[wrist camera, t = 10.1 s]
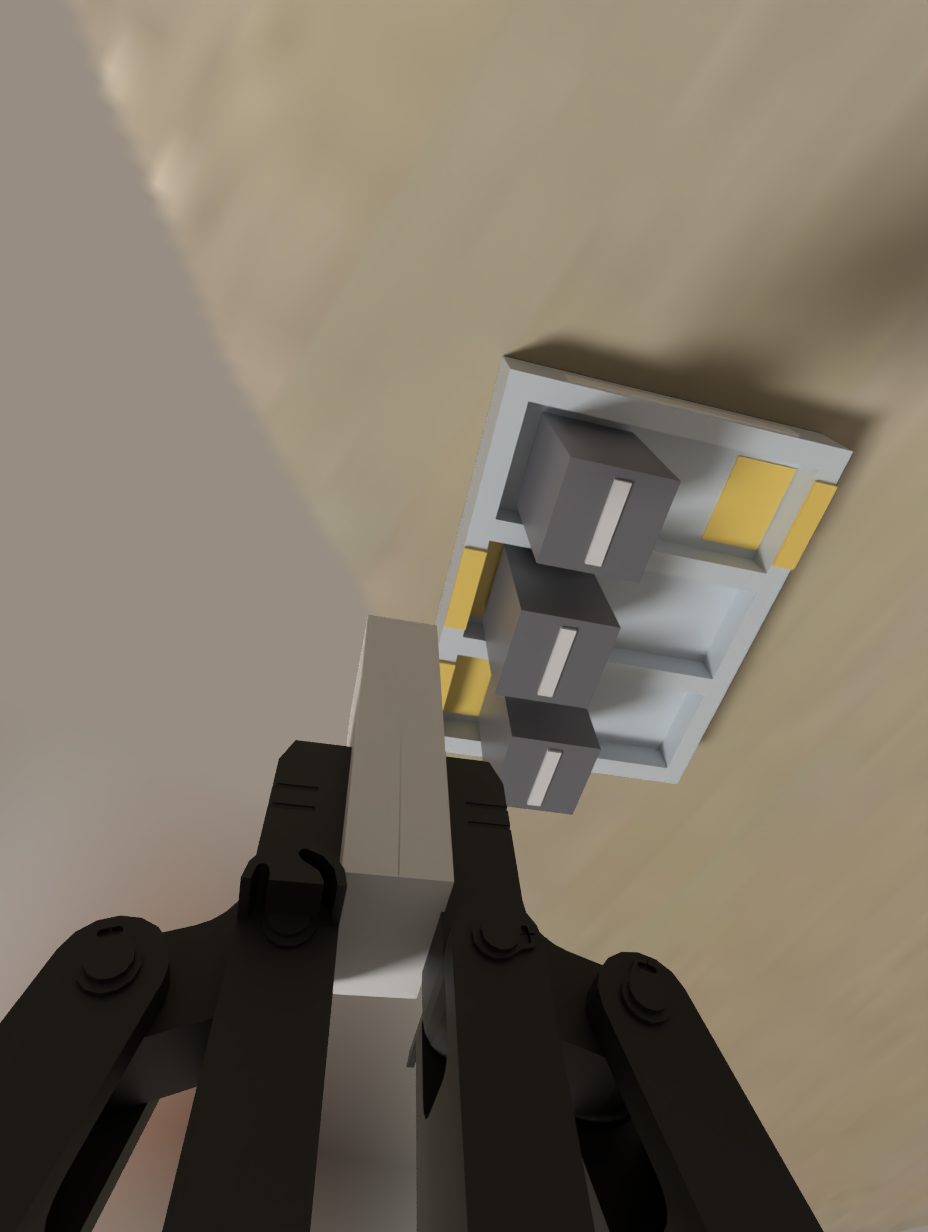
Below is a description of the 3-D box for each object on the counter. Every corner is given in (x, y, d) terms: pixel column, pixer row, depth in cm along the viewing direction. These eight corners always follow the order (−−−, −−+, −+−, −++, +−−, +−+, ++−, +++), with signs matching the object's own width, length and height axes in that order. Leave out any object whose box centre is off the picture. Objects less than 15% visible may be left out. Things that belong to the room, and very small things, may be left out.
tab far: (497, 656, 34) (512, 738, 29) (573, 668, 34) (601, 751, 29) (477, 718, 36) (488, 806, 30) (550, 729, 36) (573, 817, 31)
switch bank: (503, 353, 28) (511, 367, 25) (821, 431, 30) (857, 450, 28) (412, 713, 37) (411, 749, 35) (661, 750, 40) (678, 786, 37)
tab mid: (503, 543, 31) (521, 611, 25) (587, 559, 31) (621, 629, 26) (481, 618, 33) (494, 696, 27) (561, 631, 33) (588, 711, 28)
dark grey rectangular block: (541, 411, 28) (571, 458, 22) (633, 432, 28) (682, 482, 23) (515, 502, 30) (537, 564, 24) (601, 519, 30) (640, 584, 25)
